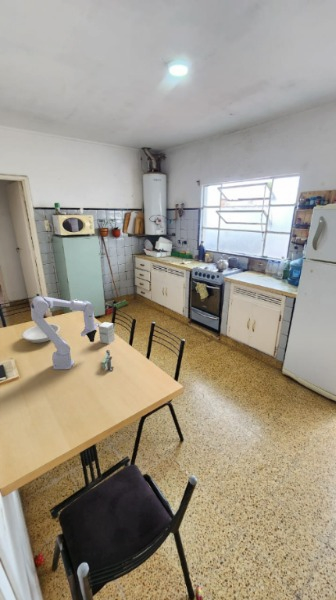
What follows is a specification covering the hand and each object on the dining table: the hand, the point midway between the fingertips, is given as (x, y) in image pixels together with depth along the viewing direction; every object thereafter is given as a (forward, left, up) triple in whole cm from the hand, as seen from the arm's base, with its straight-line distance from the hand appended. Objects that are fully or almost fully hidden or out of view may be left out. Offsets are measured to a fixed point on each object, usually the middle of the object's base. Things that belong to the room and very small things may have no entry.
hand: (92, 341), depth 153 cm
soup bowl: (-41, +22, -10) cm, 48 cm away
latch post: (+13, -14, -10) cm, 22 cm away
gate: (+10, -11, -9) cm, 17 cm away
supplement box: (+5, +18, -10) cm, 21 cm away
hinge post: (+10, -4, -10) cm, 15 cm away
